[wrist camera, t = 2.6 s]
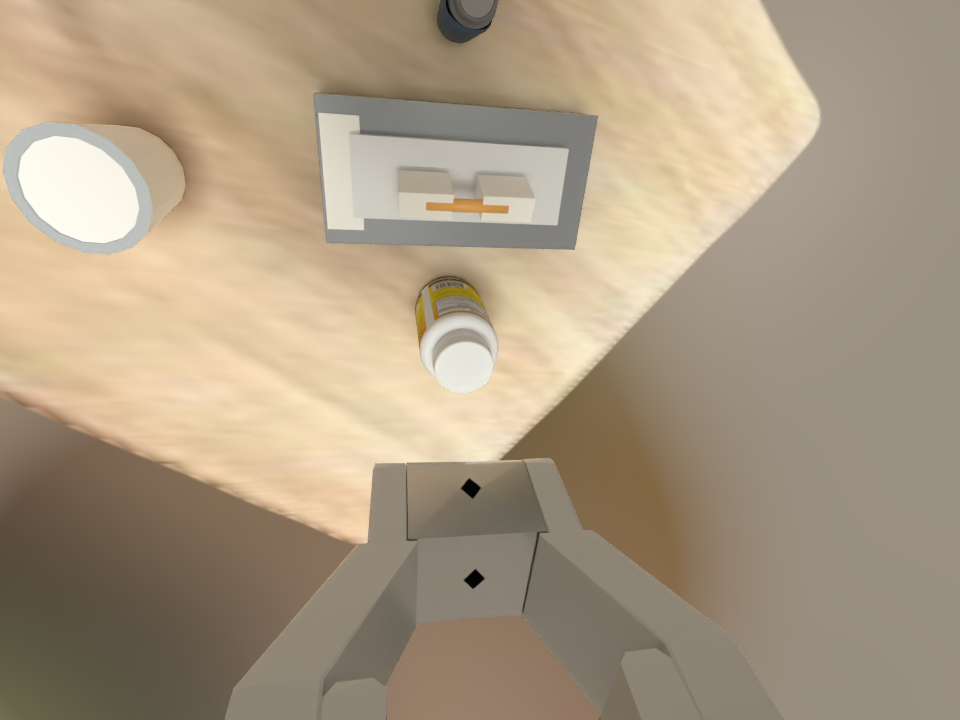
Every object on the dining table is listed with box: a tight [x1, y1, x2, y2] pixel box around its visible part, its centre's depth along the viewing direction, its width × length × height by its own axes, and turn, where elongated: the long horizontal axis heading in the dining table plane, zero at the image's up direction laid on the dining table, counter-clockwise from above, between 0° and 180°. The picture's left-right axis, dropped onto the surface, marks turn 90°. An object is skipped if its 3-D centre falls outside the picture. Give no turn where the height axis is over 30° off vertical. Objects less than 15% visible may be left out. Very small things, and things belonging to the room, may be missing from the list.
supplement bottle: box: [415, 278, 498, 393], centre depth 35 cm, size 6×6×10 cm
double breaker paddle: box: [398, 170, 536, 223], centre depth 30 cm, size 2×8×3 cm, turn 86°
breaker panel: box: [314, 93, 598, 250], centre depth 33 cm, size 9×18×4 cm, turn 85°
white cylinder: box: [3, 122, 186, 254], centre depth 29 cm, size 7×7×7 cm
